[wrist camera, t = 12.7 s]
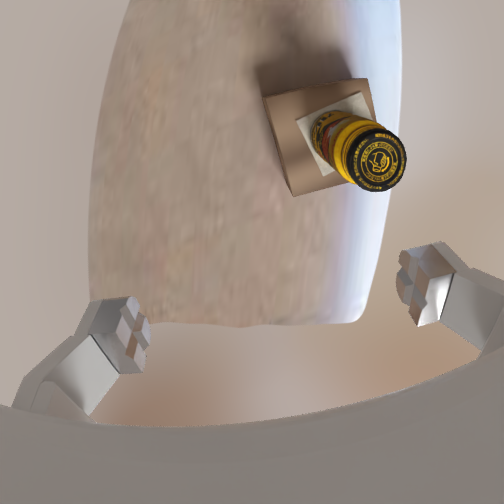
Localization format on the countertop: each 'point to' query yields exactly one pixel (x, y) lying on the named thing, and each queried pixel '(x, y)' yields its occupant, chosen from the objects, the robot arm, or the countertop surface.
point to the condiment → (354, 145)
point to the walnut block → (291, 138)
